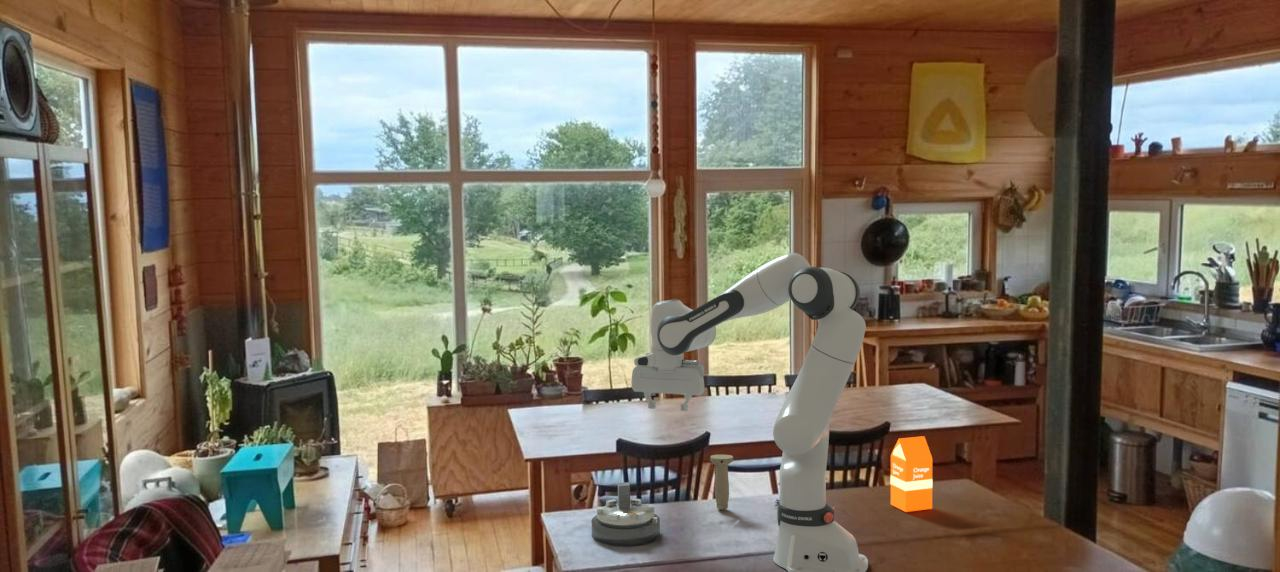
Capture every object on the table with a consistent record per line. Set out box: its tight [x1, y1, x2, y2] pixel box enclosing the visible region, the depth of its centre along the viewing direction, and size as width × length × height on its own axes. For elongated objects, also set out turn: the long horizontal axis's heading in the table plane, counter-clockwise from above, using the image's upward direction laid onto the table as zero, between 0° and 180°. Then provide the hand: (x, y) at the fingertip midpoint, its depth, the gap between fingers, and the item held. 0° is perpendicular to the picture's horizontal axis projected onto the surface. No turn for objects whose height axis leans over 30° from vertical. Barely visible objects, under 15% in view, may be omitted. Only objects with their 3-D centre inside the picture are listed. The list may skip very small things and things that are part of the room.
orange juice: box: [889, 435, 933, 513], centre depth 259 cm, size 8×9×20 cm
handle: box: [709, 454, 734, 510], centre depth 260 cm, size 5×6×15 cm
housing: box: [591, 513, 661, 548], centre depth 240 cm, size 18×18×6 cm
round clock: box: [596, 481, 655, 528], centre depth 239 cm, size 15×15×8 cm
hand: (668, 409), depth 248 cm, fingers open, 8 cm apart
